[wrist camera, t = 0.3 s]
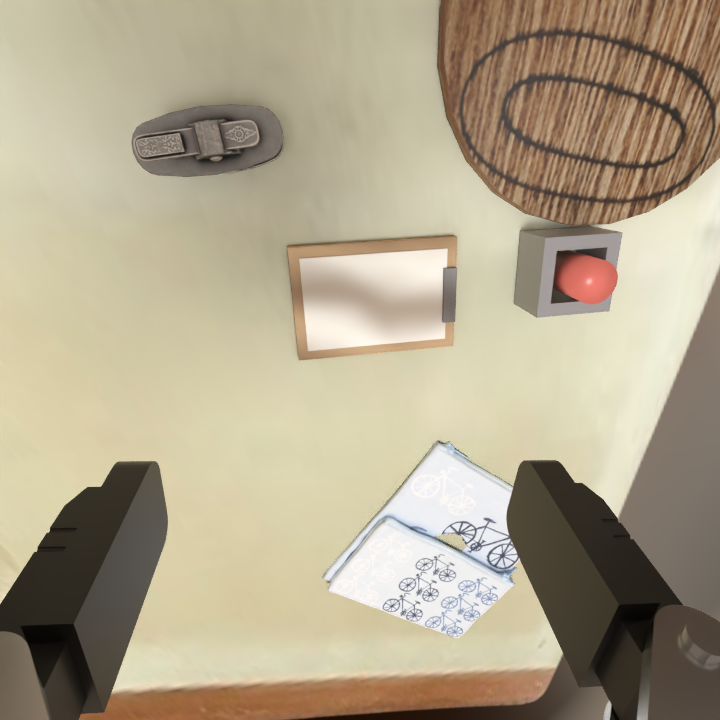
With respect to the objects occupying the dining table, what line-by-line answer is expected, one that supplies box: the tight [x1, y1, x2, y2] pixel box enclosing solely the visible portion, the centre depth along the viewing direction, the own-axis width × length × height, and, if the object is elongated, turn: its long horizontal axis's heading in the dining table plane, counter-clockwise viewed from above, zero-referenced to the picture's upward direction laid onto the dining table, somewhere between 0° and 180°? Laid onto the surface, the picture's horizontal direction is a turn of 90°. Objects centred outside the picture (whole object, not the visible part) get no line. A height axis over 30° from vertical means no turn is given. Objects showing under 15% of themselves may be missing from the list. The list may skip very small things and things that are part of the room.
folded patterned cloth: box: [322, 441, 520, 639], centre depth 49 cm, size 19×20×2 cm
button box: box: [514, 226, 622, 317], centre depth 37 cm, size 6×6×4 cm
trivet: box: [437, 0, 720, 225], centre depth 32 cm, size 25×25×2 cm
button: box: [553, 250, 618, 304], centre depth 35 cm, size 3×3×4 cm
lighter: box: [132, 104, 284, 177], centre depth 28 cm, size 8×3×10 cm, turn 98°
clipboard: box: [287, 235, 457, 360], centre depth 37 cm, size 9×13×1 cm
